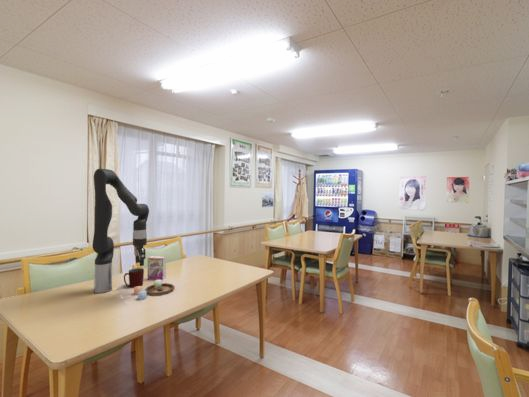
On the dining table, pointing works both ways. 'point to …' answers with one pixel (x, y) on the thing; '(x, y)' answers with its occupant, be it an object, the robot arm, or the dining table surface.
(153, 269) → the candy bar box
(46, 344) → the dining table surface
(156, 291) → the groove tray
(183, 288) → the dining table surface
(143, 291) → the bead blue
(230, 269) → the dining table surface
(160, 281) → the bead sage
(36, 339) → the dining table surface
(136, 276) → the mug
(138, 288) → the bead terracotta
